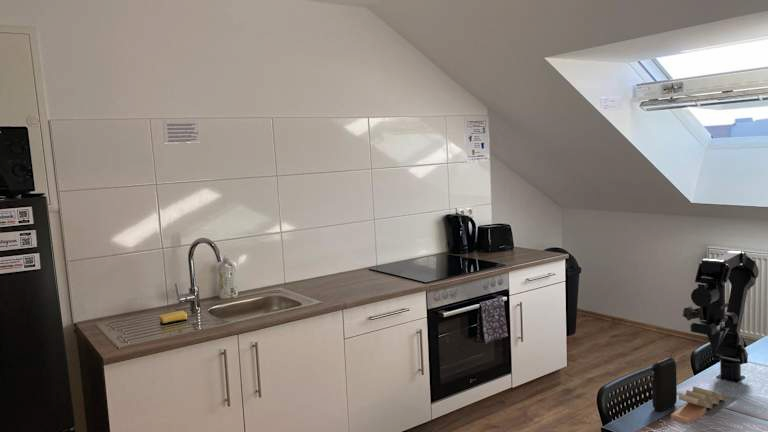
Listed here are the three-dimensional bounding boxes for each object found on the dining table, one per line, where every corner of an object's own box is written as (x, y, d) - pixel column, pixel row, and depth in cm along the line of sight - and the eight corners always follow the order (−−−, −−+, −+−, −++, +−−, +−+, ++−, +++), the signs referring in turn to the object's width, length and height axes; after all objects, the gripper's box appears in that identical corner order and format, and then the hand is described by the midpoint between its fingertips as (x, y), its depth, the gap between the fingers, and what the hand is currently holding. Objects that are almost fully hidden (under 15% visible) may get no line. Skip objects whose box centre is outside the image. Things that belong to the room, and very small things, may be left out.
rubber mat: (706, 391, 183) (706, 390, 183) (737, 400, 176) (737, 398, 176) (678, 408, 173) (678, 407, 173) (711, 418, 166) (711, 416, 166)
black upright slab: (657, 416, 169) (656, 366, 168) (647, 412, 172) (646, 363, 170) (679, 406, 175) (678, 357, 173) (669, 402, 177) (668, 354, 176)
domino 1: (695, 398, 175) (679, 393, 169) (713, 403, 171) (697, 398, 165) (694, 403, 175) (678, 399, 169) (711, 408, 171) (696, 404, 165)
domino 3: (701, 394, 177) (686, 389, 171) (719, 399, 173) (704, 394, 167) (700, 399, 177) (685, 395, 171) (718, 404, 173) (703, 400, 167)
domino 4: (708, 390, 180) (693, 386, 174) (725, 395, 176) (711, 390, 170) (707, 396, 179) (692, 391, 174) (724, 400, 175) (710, 396, 170)
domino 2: (688, 402, 172) (670, 414, 166) (706, 407, 168) (688, 419, 162) (688, 407, 173) (670, 419, 167) (706, 412, 169) (689, 425, 163)
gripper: (701, 290, 193) (702, 337, 194) (672, 301, 182) (673, 351, 183) (738, 295, 184) (738, 344, 186) (710, 307, 173) (711, 360, 174)
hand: (714, 349), depth 182 cm, fingers closed
